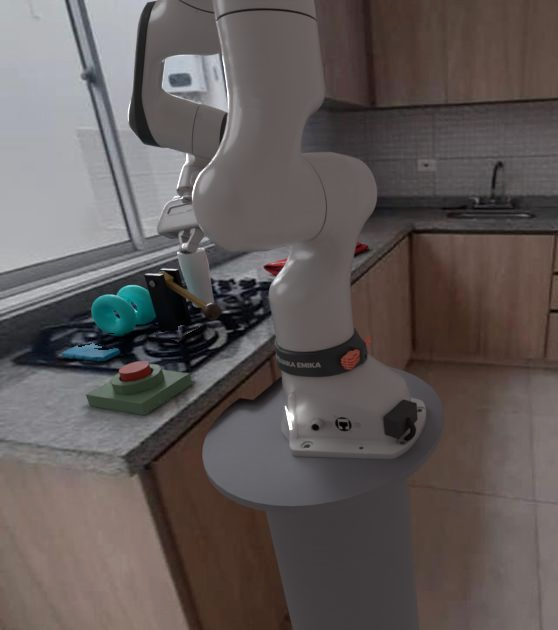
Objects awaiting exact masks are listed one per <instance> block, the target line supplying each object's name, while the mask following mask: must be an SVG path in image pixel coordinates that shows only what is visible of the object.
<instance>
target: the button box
mask: <svg viewBox="0 0 558 630" xmlns="http://www.w3.org/2000/svg"><path fill="white" fill-rule="evenodd" d="M149 365H150V368H151V371H152V373H151V374H150V375H148V376H146V377H145V378H142V379H139V380H136V381H130V382H123V381H122V379H121V376H120V373H119V372H117V373H116V374H114V375H113V376H112V377H111V379H110V381H108V382H106V383H104V384H102V385H101V386H99V387H97V388H95V389H94V390H91V391H90V392H87V393H86V394H85V397H86V399H87V403H88V405H89V407H95V408H100V409H108V410H113V411H117V412H124V413H130V414H136V415H140V416H141V415H142V416H146V415H148V414H150V413H152V411H154V410H155V409H157V408H159V407H160V406H161V405H163V404H164V403H166V402H168V401H169V400H170V399H173V398H174V397H175V396H177V395H178V394H180V393H181V392H183V391H185V390H186V389H187V388H189V387H190V386H191V385H193V381H192V376H191V373H190V372H184V371H183V372H182V371H176V370H168V369H163V368H162V367H161V366H160V364H155V363H149Z"/></svg>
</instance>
